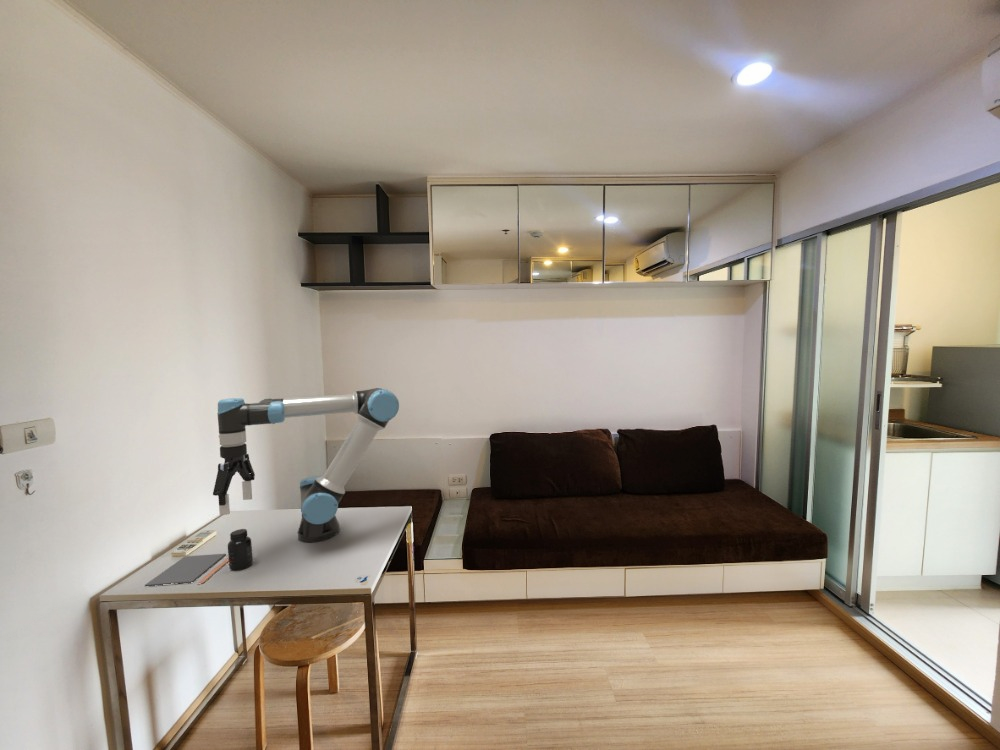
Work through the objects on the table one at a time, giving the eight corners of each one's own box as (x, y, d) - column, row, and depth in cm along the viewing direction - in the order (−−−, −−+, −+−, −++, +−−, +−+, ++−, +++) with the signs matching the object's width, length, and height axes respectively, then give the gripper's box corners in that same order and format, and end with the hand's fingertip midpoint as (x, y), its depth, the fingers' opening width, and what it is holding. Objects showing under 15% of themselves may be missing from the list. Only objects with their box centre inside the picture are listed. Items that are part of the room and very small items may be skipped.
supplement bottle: (245, 559, 141) (243, 526, 140) (257, 563, 138) (255, 529, 137) (224, 568, 135) (222, 534, 134) (236, 573, 132) (234, 537, 131)
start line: (238, 553, 146) (238, 551, 146) (202, 584, 126) (202, 582, 126) (234, 553, 145) (234, 552, 145) (197, 584, 126) (197, 583, 126)
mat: (226, 555, 144) (225, 553, 144) (192, 583, 126) (192, 581, 126) (184, 558, 143) (184, 556, 143) (144, 586, 125) (144, 584, 125)
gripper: (242, 437, 146) (245, 494, 147) (196, 453, 121) (200, 522, 122) (263, 436, 147) (266, 493, 148) (222, 452, 122) (226, 520, 123)
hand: (236, 506), depth 135 cm, fingers open, 13 cm apart
